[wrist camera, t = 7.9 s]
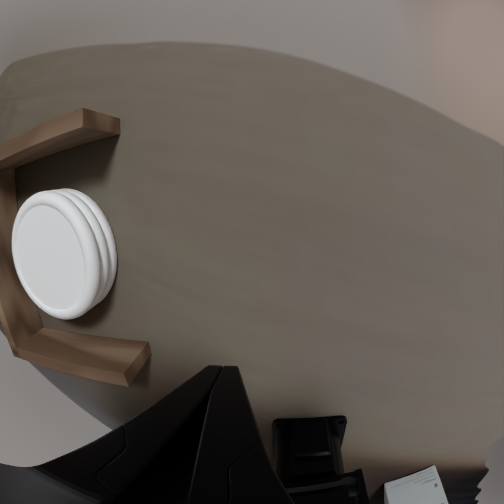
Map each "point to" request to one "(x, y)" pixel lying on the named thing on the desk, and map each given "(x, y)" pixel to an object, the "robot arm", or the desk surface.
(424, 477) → the supplement box
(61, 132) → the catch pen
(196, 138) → the desk surface
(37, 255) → the coaster
